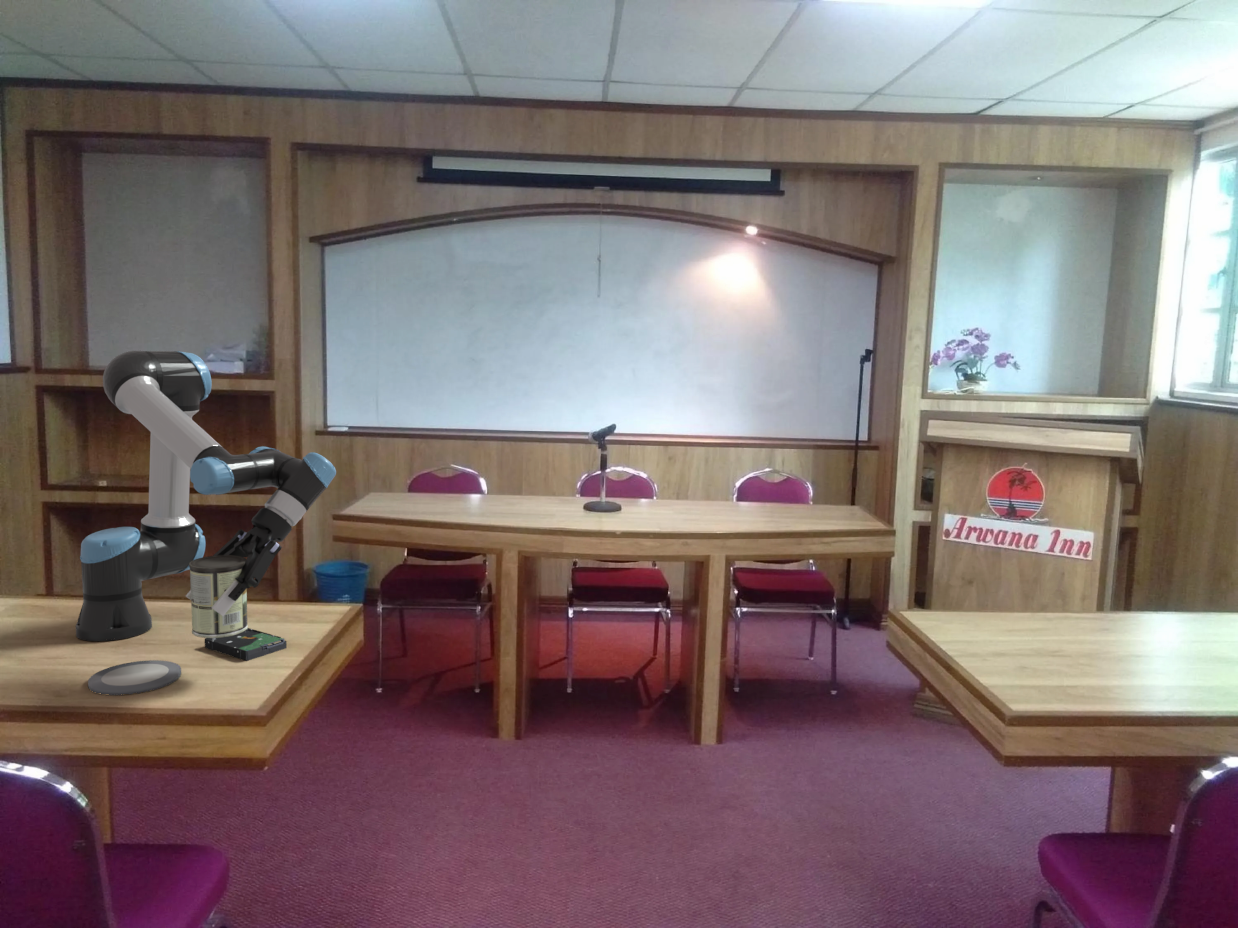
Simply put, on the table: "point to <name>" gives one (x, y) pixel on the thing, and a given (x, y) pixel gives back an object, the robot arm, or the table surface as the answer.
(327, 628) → the table surface
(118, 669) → the grey flat disc
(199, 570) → the coffee can
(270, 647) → the disk drive
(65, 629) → the table surface
